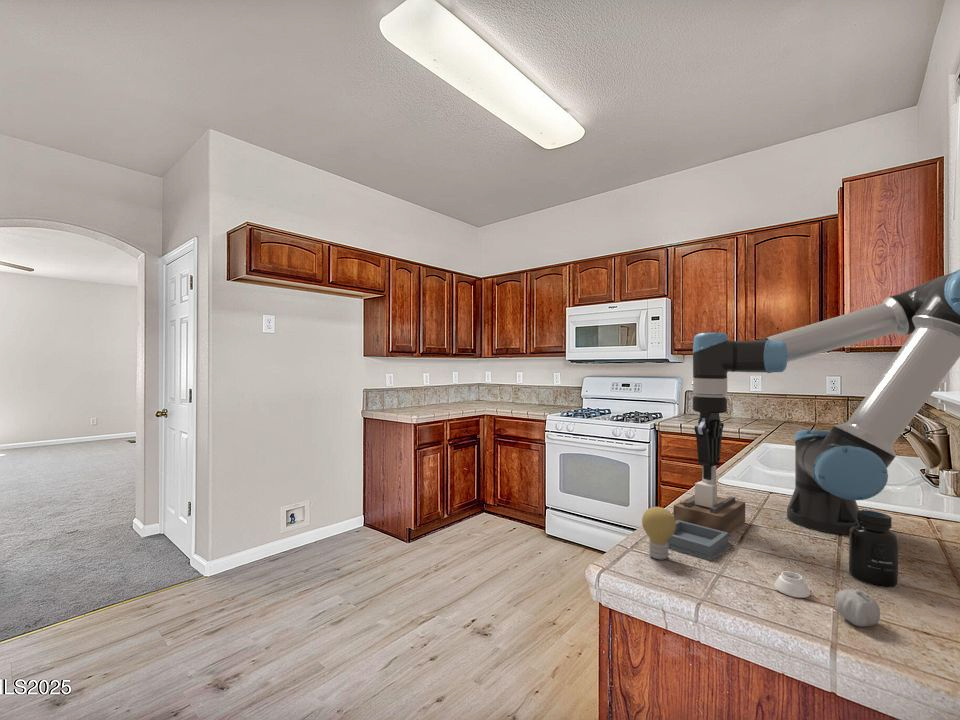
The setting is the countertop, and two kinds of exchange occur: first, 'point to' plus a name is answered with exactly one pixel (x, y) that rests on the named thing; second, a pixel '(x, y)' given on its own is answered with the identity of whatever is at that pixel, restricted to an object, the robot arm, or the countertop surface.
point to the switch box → (712, 513)
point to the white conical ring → (792, 585)
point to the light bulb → (658, 530)
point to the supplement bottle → (873, 549)
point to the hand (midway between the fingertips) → (709, 492)
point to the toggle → (705, 494)
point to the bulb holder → (699, 540)
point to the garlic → (857, 607)
